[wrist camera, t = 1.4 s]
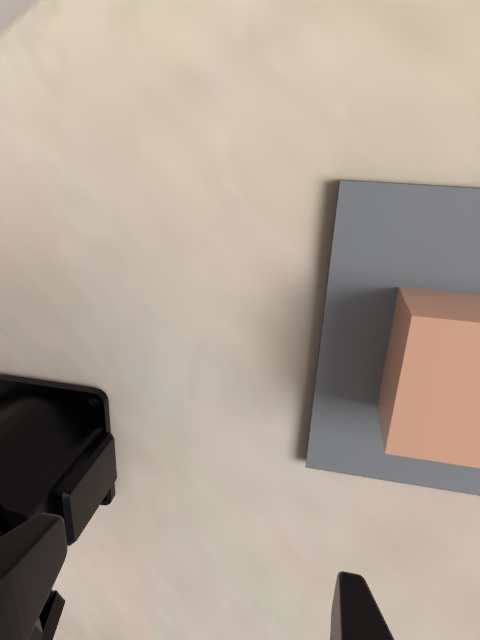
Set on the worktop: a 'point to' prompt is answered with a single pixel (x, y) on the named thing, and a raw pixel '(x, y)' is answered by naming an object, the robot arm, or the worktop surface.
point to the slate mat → (385, 317)
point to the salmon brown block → (433, 378)
